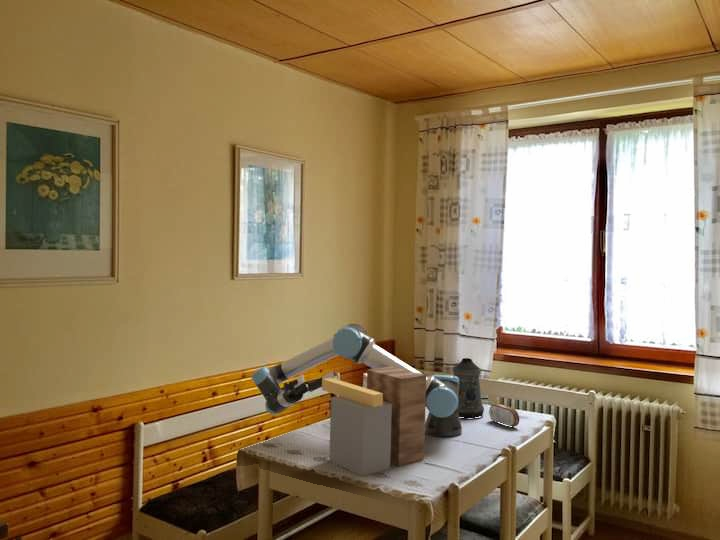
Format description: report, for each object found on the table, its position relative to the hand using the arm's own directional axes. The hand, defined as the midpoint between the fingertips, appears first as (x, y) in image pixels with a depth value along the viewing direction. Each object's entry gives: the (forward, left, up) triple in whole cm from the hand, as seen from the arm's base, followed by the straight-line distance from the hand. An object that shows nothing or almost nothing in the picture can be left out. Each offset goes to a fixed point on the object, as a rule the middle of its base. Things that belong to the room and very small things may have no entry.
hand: (318, 376), depth 230 cm
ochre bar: (-14, +14, -4) cm, 20 cm away
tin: (-73, -42, -26) cm, 89 cm away
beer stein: (-57, -57, -26) cm, 85 cm away
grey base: (-18, +18, -26) cm, 36 cm away
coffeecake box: (-18, -36, -26) cm, 48 cm away
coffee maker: (-35, -74, -26) cm, 86 cm away
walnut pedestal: (-29, +6, -26) cm, 40 cm away
